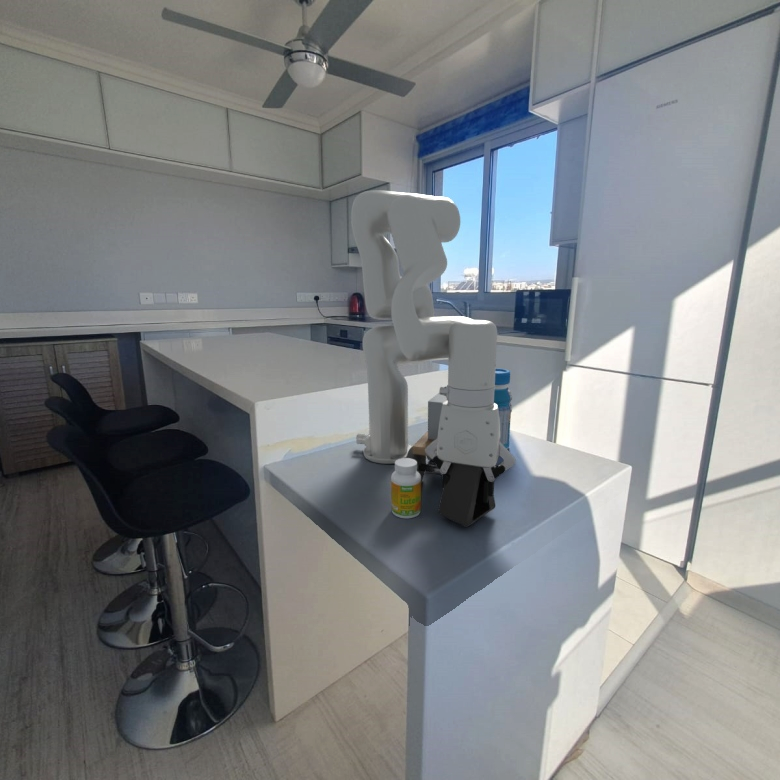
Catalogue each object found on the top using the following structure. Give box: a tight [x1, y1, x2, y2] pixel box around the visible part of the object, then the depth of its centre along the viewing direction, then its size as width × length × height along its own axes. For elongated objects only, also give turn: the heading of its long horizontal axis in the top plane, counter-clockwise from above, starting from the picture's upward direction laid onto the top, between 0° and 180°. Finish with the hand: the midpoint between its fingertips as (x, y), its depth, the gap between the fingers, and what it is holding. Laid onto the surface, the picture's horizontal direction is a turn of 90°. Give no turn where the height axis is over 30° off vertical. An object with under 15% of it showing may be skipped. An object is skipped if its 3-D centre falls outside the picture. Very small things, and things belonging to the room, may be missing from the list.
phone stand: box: [437, 463, 496, 528], centre depth 71 cm, size 9×6×12 cm, turn 134°
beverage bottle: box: [494, 367, 513, 450], centre depth 104 cm, size 8×8×20 cm
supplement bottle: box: [390, 458, 422, 519], centre depth 74 cm, size 5×5×10 cm
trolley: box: [406, 392, 447, 483], centre depth 88 cm, size 22×15×18 cm
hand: (467, 494), depth 72 cm, fingers closed on phone stand, 6 cm apart
